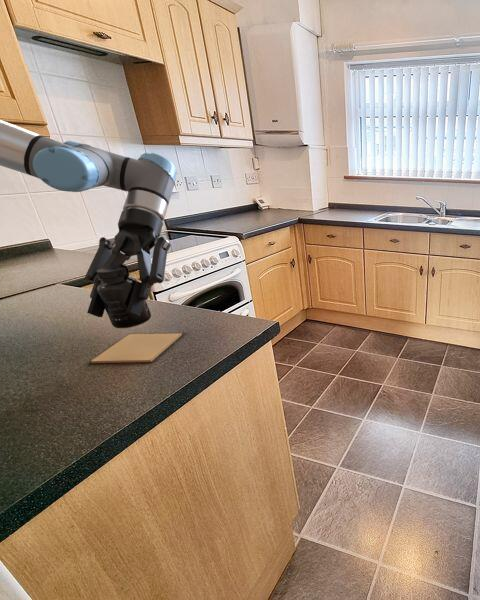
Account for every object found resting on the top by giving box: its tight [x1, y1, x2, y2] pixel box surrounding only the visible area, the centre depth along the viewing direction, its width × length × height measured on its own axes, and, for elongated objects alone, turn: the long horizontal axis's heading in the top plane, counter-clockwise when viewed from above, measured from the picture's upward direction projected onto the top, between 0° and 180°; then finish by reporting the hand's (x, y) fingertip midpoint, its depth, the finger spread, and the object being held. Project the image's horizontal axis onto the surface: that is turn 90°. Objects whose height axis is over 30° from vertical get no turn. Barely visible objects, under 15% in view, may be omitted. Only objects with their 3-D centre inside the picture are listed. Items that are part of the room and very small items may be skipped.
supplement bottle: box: [97, 264, 152, 330], centre depth 69 cm, size 7×7×12 cm
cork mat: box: [90, 332, 183, 364], centre depth 73 cm, size 12×11×1 cm
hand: (114, 314), depth 67 cm, fingers closed on supplement bottle, 7 cm apart
